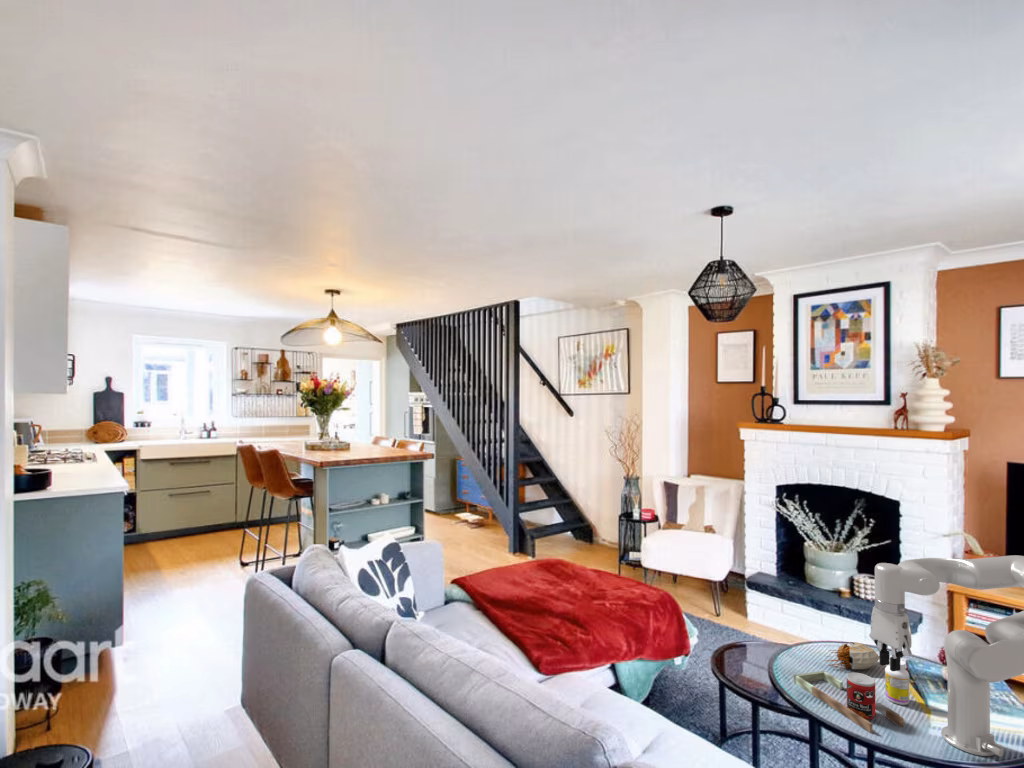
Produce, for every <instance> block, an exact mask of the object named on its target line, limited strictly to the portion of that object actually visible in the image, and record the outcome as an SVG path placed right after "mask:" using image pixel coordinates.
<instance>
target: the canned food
mask: <svg viewBox="0 0 1024 768" xmlns="http://www.w3.org/2000/svg"><path fill="white" fill-rule="evenodd" d="M846 688H847V692H846V707H847V708H849V709H850V710H852V711H853V712H855V713H856V714H858V715H859V716H861V717H863V718H864V719H866V720H867V721H869V720H872V719H874V718H875V716H876V709H875V703H876V681H875V679H874V678H873V677H872V676H869V675H867V674H865V673H860V672H848V673H847V674H846Z"/></svg>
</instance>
